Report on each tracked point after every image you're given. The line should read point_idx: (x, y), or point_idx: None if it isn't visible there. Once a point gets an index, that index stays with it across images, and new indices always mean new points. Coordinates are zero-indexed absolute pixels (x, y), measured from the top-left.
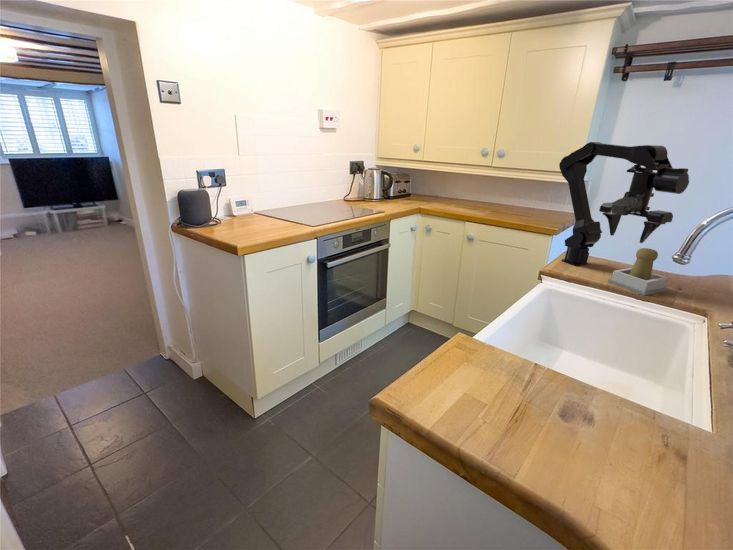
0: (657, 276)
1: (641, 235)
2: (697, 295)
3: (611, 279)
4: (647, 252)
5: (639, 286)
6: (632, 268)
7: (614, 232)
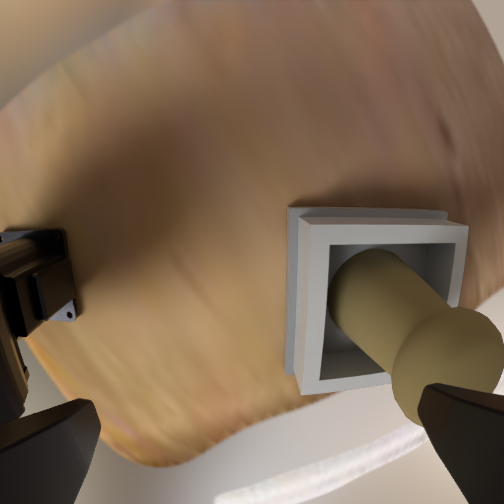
0: (434, 241)
1: (451, 473)
2: (490, 149)
3: (294, 368)
4: None
5: None
6: (369, 356)
7: (78, 420)
